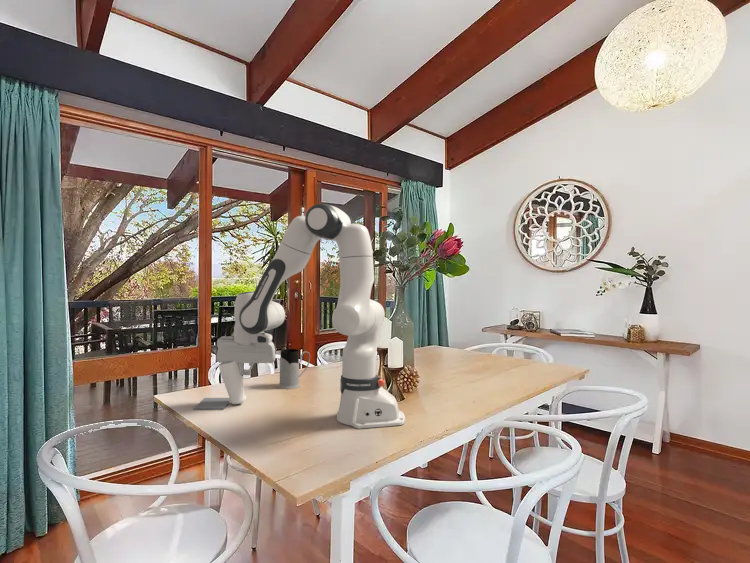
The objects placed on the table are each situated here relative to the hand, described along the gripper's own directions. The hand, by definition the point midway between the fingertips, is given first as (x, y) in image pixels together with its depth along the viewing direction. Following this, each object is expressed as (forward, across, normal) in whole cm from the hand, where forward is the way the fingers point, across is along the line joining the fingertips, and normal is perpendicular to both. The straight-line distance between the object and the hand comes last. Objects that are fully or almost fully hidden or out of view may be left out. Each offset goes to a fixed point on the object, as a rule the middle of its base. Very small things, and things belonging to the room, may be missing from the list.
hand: (246, 375), depth 152 cm
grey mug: (+11, +15, +25) cm, 31 cm away
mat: (+10, -11, 0) cm, 15 cm away
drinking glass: (+10, -2, 0) cm, 10 cm away
